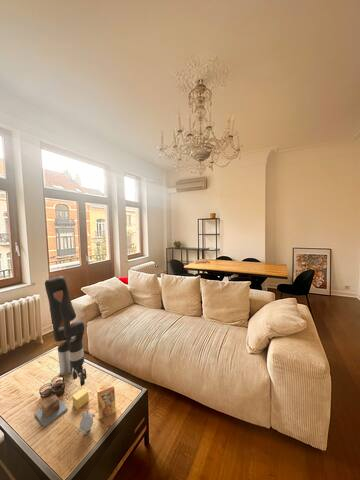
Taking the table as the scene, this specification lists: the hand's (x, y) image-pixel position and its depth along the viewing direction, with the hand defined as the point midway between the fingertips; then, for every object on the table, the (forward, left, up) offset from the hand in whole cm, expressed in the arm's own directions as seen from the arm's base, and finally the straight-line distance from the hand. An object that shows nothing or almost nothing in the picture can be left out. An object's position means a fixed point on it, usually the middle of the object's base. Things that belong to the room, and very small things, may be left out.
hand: (78, 381), depth 119 cm
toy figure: (+7, +19, -14) cm, 24 cm away
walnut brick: (+13, -8, -13) cm, 20 cm away
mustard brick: (0, 0, -14) cm, 14 cm away
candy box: (-5, +19, -14) cm, 24 cm away
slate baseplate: (+13, -8, -14) cm, 20 cm away
